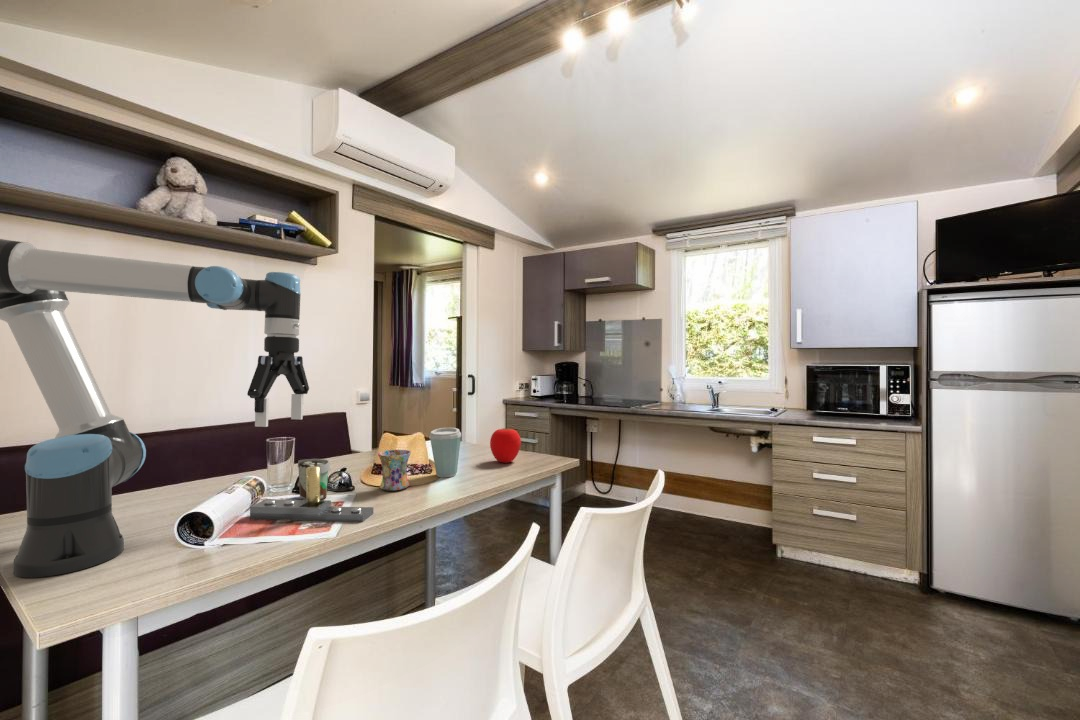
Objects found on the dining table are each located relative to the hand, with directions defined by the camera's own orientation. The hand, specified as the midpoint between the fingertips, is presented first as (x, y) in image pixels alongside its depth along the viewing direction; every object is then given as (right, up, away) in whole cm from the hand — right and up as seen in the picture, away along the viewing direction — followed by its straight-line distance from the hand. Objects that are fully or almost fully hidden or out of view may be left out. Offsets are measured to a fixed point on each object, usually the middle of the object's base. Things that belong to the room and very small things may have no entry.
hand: (280, 422), depth 117 cm
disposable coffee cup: (+33, -23, +39) cm, 56 cm away
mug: (+20, -23, +25) cm, 39 cm away
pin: (+8, -23, 0) cm, 24 cm away
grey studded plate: (+8, -23, 0) cm, 24 cm away
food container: (+2, -23, +15) cm, 28 cm away
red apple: (+51, -22, +58) cm, 80 cm away
